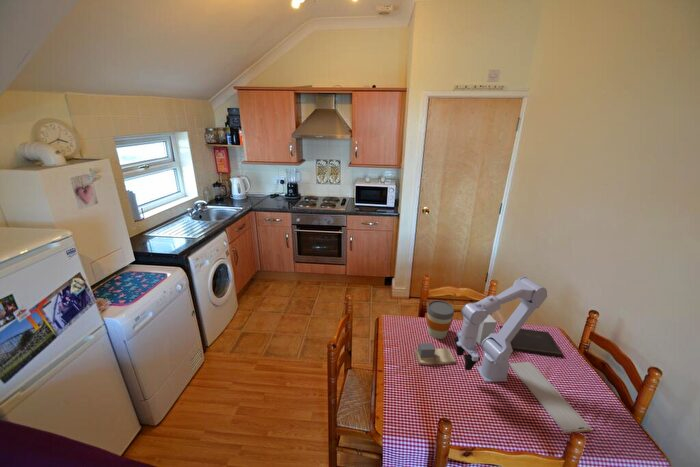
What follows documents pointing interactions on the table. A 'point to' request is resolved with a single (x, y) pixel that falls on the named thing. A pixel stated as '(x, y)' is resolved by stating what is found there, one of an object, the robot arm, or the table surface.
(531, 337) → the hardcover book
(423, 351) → the block
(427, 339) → the table surface
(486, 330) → the small box
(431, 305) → the reusable coffee cup
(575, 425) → the baseboard molding
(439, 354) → the pine board
